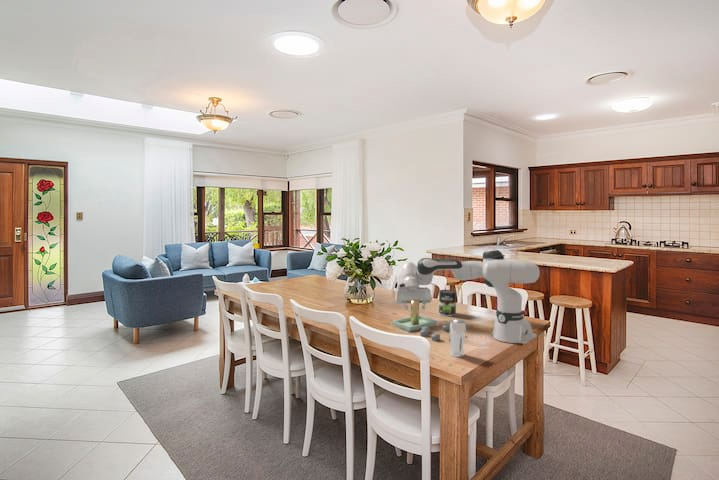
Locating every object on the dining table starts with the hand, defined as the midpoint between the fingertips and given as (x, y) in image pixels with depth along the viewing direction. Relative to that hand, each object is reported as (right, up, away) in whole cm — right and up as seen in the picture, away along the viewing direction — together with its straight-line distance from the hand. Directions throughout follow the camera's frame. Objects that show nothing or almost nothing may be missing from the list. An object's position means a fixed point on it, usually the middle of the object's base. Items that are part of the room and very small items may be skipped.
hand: (415, 309), depth 208 cm
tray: (0, -9, +1) cm, 9 cm away
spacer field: (+11, -11, -15) cm, 22 cm away
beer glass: (+13, -13, -41) cm, 44 cm away
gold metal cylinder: (0, -8, +1) cm, 9 cm away
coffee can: (+23, -8, +24) cm, 34 cm away
